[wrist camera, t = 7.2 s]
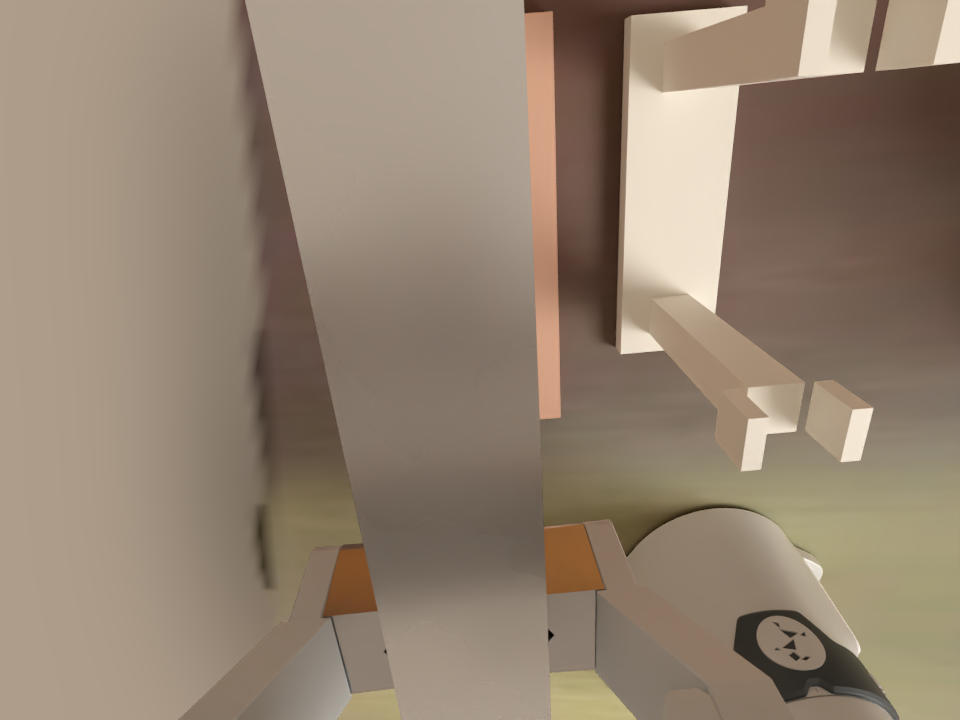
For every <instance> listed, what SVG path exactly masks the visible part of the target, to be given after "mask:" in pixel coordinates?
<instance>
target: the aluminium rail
mask: <svg viewBox="0 0 960 720" xmlns="http://www.w3.org/2000/svg"><path fill="white" fill-rule="evenodd" d="M245 2H246V6H247V11H248V16H249V20H250V25H251V30H252V34H253V39H254V43H255V48H256V53H257V57H258V62H259V66H260V71H261V76H262V80H263V85H264V89H265V94H266V99H267V103H268V108H269V112H270V117H271V122H272V126H273V131H274V135H275V140H276V145H277V149H278V154H279V158H280V163H281V168H282V172H283V177H284V181H285V186H286V191H287V195H288V200H289V204H290V209H291V214H292V218H293V223H294V227H295V232H296V237H297V241H298V246H299V250H300V255H301V260H302V264H303V269H304V273H305V278H306V283H307V287H308V292H309V296H310V301H311V306H312V310H313V315H314V319H315V324H316V329H317V333H318V338H319V342H320V347H321V352H322V356H323V361H324V365H325V370H326V375H327V379H328V384H329V388H330V393H331V398H332V402H333V407H334V411H335V416H336V421H337V425H338V430H339V434H340V439H341V444H342V448H343V453H344V457H345V462H346V467H347V471H348V476H349V480H350V485H351V490H352V494H353V499H354V503H355V508H356V513H357V517H358V522H359V526H360V531H361V536H362V540H363V545H364V549H365V554H366V559H367V563H368V568H369V573H370V577H371V582H372V586H373V591H374V596H375V600H376V605H377V609H378V614H379V619H380V623H381V628H382V632H383V637H384V642H385V646H386V651H387V655H388V660H389V665H390V669H391V674H392V678H393V683H394V688H395V692H396V697H397V701H398V706H399V711H400V715H401V720H551V701H550V675H549V649H548V623H547V597H546V570H545V544H544V518H543V492H542V465H541V439H540V413H539V387H538V360H537V334H536V308H535V282H534V255H533V229H532V203H531V177H530V151H529V124H528V98H527V72H526V46H525V19H524V0H245Z"/></svg>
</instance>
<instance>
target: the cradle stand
mask: <svg viewBox="0 0 960 720" xmlns="http://www.w3.org/2000/svg"><path fill="white" fill-rule="evenodd" d="M876 3H877V0H766V3H765V7H762V8H759V9H756V10H753V11H750V12H748V13H747V6H738V7H726V8H714V9H702V10H690V11H678V12H666V13H655V14H643V15H631V16H629V17H628V18H626V19H625V24H624V61H623V98H622V135H621V172H620V209H619V246H618V283H617V320H616V348H617V350H618V351H619V352H620V354H628V353H639V352H651V351H662V350H664V351H665V352H666V353H667V354H668V355H669V356H670V357H671V358H672V359H673V361H674V362H675V363H676V364H677V365H678V366H679V367H680V368H681V369H682V371H683V372H684V373H685V374H686V375H687V376H688V377H689V378H690V379H691V380H692V382H693V383H694V384H695V385H696V386H697V387H698V388H699V389H700V390H701V392H702V393H703V394H704V395H705V396H706V397H707V398H708V399H709V400H710V402H711V403H712V404H713V405H714V406H715V407H716V408H717V409H718V413H717V422H716V430H715V440H716V441H717V442H718V444H719V445H720V446H721V447H722V449H723V450H724V451H725V452H726V453H727V455H728V456H729V457H730V458H731V460H732V461H733V462H734V463H735V465H736V466H737V467H738V468H739V470H740V471H749V470H760V469H761V465H762V459H763V453H764V447H765V441H766V435H767V434H772V433H783V432H794V431H796V428H797V423H798V418H799V412H800V407H801V402H802V396H803V391H804V386H805V382H804V381H802V380H801V379H800V378H799V377H797V376H796V375H795V374H793V373H792V372H791V371H789V370H788V369H787V368H785V367H784V366H783V365H781V364H780V363H779V362H777V361H776V360H775V359H773V358H772V357H771V356H769V355H768V354H767V353H766V352H764V351H763V350H762V349H760V348H759V347H758V346H756V345H755V344H754V343H752V342H751V341H750V340H748V339H747V338H746V337H744V336H743V335H742V334H740V333H739V332H738V331H736V330H735V329H734V328H732V327H731V326H730V325H729V324H727V323H726V322H725V321H723V320H722V319H721V318H719V317H718V316H717V315H715V309H716V300H717V290H718V281H719V271H720V262H721V252H722V243H723V233H724V224H725V214H726V205H727V195H728V186H729V176H730V167H731V158H732V148H733V139H734V129H735V120H736V110H737V101H738V91H739V85H747V84H757V83H766V82H775V81H785V80H794V79H803V78H812V77H822V76H831V75H840V74H850V73H859V72H864V67H865V61H866V56H867V51H868V45H869V40H870V35H871V30H872V24H873V19H874V14H875V8H876ZM951 63H960V0H889V4H888V9H887V14H886V19H885V25H884V30H883V35H882V40H881V45H880V50H879V55H878V60H877V65H876V70H875V71H881V70H893V69H904V68H913V67H923V66H932V65H942V64H951ZM872 412H873V407H872V406H870V405H869V404H867V403H866V402H864V401H863V400H862V399H860V398H859V397H857V396H856V395H854V394H853V393H851V392H850V391H849V390H847V389H846V388H844V387H843V386H841V385H840V384H838V383H837V382H836V381H834V380H827V381H816V382H814V387H813V392H812V397H811V402H810V407H809V413H808V418H807V423H806V428H805V431H806V432H807V433H808V434H810V435H811V436H812V437H813V438H814V439H815V440H816V441H817V442H818V443H820V444H821V445H822V446H823V447H824V448H825V449H826V450H827V451H829V452H830V453H831V454H832V455H833V456H834V457H835V458H836V459H837V460H839V461H840V462H848V461H859V460H861V456H862V452H863V448H864V444H865V440H866V436H867V432H868V428H869V424H870V420H871V416H872Z"/></svg>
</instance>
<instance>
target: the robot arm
mask: <svg viewBox="0 0 960 720" xmlns="http://www.w3.org/2000/svg"><path fill="white" fill-rule="evenodd" d="M544 544H545V570H546V597H547V623H548V649H549V673H552V672H566V671H580V670H594V669H596V673H597V674H598V675H599V676H600V677H601V679H602V680H603V681H604V682H605V683H606V684H607V685H608V687H609V688H610V689H611V690H612V691H613V692H614V693H615V695H616V696H617V697H618V698H619V699H620V700H621V701H622V703H623V704H624V705H625V706H626V707H627V708H628V709H629V711H630V712H631V713H632V714H633V715H634V716H635V717H636V719H637V720H899V716H898V714H897V712H896V710H895V709H894V707H893V706H892V705H891V703H890V702H889V700H888V698H887V695H886V694H885V691H884V690H883V689H882V687H881V686H880V684H879V683H878V682H877V680H876V679H875V678H874V676H873V675H872V674H869V672H868V671H867V669H866V668H865V667H864V665H863V664H862V663H861V661H860V660H859V659H858V655H859V653H860V646H859V643H858V641H857V639H856V638H855V636H854V634H853V633H852V631H851V630H850V628H849V627H848V625H847V623H846V622H845V620H844V619H843V617H842V616H841V614H840V613H839V611H838V609H837V608H836V606H835V605H834V603H833V602H832V600H831V599H830V597H829V596H828V594H827V593H826V591H825V590H824V588H823V587H822V585H821V584H820V582H819V581H820V579H821V577H822V574H823V569H822V567H821V566H820V564H819V562H818V561H817V559H816V558H815V557H814V556H813V555H811V554H809V553H807V552H805V551H803V550H801V549H799V548H796V547H795V546H794V545H792V543H791V542H790V541H789V540H788V538H787V537H786V535H785V534H784V532H783V531H782V530H781V529H780V528H779V527H778V526H777V525H776V524H775V523H774V522H772V521H771V520H769V519H768V518H766V517H764V516H762V515H759V514H757V513H754V512H751V511H747V510H742V509H734V508H716V509H707V510H701V511H697V512H693V513H690V514H686V515H684V516H681V517H678V518H676V519H674V520H672V521H669V522H667V523H666V524H664V525H662V526H660V527H659V528H657V529H656V530H654V531H653V532H652V533H650V534H649V535H648V536H646V537H645V538H644V539H643V540H642V541H641V542H640V543H639V544H638V545H637V546H636V547H635V548H634V550H633V551H632V552H631V553H630V554H629V556H628V557H627V558H626V555H625V553H624V550H623V548H622V545H621V543H620V541H619V538H618V536H617V533H616V531H615V528H614V526H613V523H612V522H611V521H610V520H609V519H605V520H596V521H588V522H582V523H573V524H564V525H554V526H545V527H544ZM393 688H394V683H393V678H392V674H391V669H390V665H389V660H388V655H387V651H386V646H385V642H384V637H383V632H382V628H381V623H380V619H379V614H378V609H377V605H376V600H375V596H374V591H373V586H372V582H371V577H370V573H369V568H368V563H367V559H366V554H365V549H364V545H363V544H349V545H343V546H330V547H316V548H315V549H314V550H313V551H312V553H311V554H310V557H309V560H308V563H307V566H306V569H305V572H304V575H303V579H302V582H301V585H300V588H299V591H298V594H297V597H296V600H295V603H294V607H293V610H292V613H291V616H290V619H289V622H280V623H279V624H278V625H277V626H276V627H275V628H274V629H273V630H272V631H271V632H270V633H269V634H268V635H267V636H266V637H264V638H263V639H262V640H261V641H260V642H259V643H258V644H257V645H256V646H255V647H254V648H253V649H252V650H251V651H250V652H249V653H248V654H247V655H246V656H245V657H244V658H242V660H240V661H239V662H238V663H237V664H236V665H235V666H234V667H233V668H232V669H231V670H230V671H229V672H228V673H227V674H226V675H225V676H224V677H223V678H222V679H221V680H220V681H218V682H217V683H216V684H215V685H214V686H213V687H212V688H211V689H210V690H209V691H208V692H207V693H206V694H205V695H204V696H203V697H202V698H201V699H200V700H199V701H198V702H196V703H195V704H194V705H193V706H192V707H191V708H190V709H189V710H188V711H187V712H186V713H185V714H184V715H183V716H182V717H181V718H180V719H179V720H337V718H338V717H339V715H340V714H341V712H342V711H343V709H344V708H345V707H346V705H347V704H348V702H349V701H350V699H351V698H352V696H351V694H355V693H362V692H370V691H378V690H385V689H393Z"/></svg>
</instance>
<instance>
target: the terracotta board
mask: <svg viewBox="0 0 960 720" xmlns="http://www.w3.org/2000/svg"><path fill="white" fill-rule="evenodd" d="M524 19H525V46H526V72H527V98H528V124H529V151H530V177H531V203H532V229H533V255H534V282H535V308H536V334H537V360H538V387H539V413H540V419H550V418H561V412H560V360H559V308H558V256H557V204H556V152H555V101H554V49H553V11H549V12H537V13H525V14H524Z"/></svg>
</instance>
